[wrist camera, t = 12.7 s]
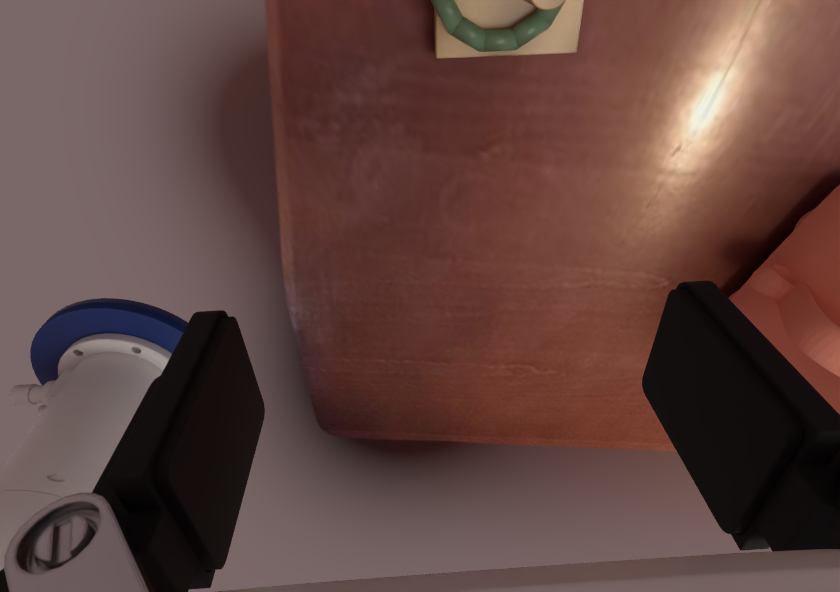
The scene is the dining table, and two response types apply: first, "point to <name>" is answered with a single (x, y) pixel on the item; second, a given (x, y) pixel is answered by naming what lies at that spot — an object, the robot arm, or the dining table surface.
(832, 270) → the teapot
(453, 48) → the stand
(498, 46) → the ring
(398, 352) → the dining table surface
